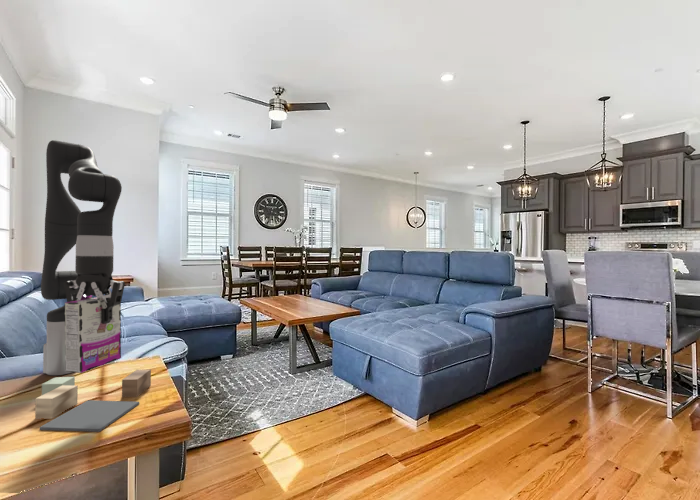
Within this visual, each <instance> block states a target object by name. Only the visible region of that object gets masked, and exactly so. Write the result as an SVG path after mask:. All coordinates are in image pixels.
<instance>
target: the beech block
mask: <svg viewBox="0 0 700 500" xmlns="http://www.w3.org/2000/svg"><path fill="white" fill-rule="evenodd" d="M78 391H79V390H78V385H75V386H73V385H62V386H60V387H58V388H56V389H54V390H52V391H50V392H48V393H46V394H44V395H42V394H41V395H40V396H38V397H36V398H35V399H34V400H35V404H34V405H35V412H34V415H35V416H34V418H35V419H36V420H38V419H41V418H44V419H43V420H45V419H46V420H49V419H50V420H53V419H55V418H57V417H59V416H60V415H62V412H63V413H65V412H66V411H68V410H70V409H71V408H73V407H74V405H75V406H77V405H78ZM72 406H73V407H72ZM70 407H71V408H70ZM69 408H70V409H69ZM67 409H68V410H67ZM65 410H66V411H65Z"/></svg>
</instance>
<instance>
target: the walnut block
mask: <svg viewBox="0 0 700 500" xmlns="http://www.w3.org/2000/svg"><path fill="white" fill-rule="evenodd" d="M151 378H152V369H136V370H134V371H132V372H130V374H128V375H126V377H124V378H123V379H122V380H121V398H138V397H139V396H140V395H141V394H143V393H144V392H145V391H146V390H147V389H148V388H150V387H151V385H152V384H151V383H152V381H151Z"/></svg>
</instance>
